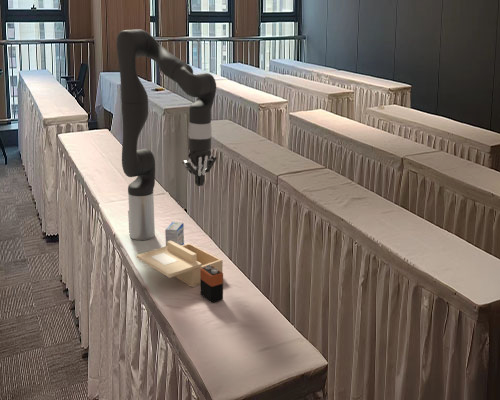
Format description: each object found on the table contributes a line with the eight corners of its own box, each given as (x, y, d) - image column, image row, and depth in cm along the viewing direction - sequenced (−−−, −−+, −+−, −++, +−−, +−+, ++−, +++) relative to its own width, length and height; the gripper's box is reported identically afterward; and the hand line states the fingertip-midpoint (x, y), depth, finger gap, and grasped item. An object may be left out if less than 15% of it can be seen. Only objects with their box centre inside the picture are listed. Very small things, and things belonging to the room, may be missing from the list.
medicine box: (177, 253, 223) (177, 230, 221) (165, 251, 224) (165, 229, 221) (184, 244, 231) (183, 222, 228) (172, 243, 232) (172, 221, 229)
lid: (136, 257, 204) (136, 247, 202) (168, 248, 211) (168, 238, 210) (169, 277, 191) (168, 266, 189) (201, 266, 198) (201, 255, 197)
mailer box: (160, 268, 211) (160, 251, 209) (189, 258, 219) (189, 243, 217) (192, 287, 199) (192, 270, 197) (222, 276, 206) (222, 260, 204)
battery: (211, 303, 189) (211, 273, 185) (199, 294, 194) (199, 265, 191) (223, 300, 191) (223, 270, 188) (212, 291, 196) (212, 262, 193)
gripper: (209, 130, 213) (208, 178, 219) (176, 135, 205) (176, 186, 211) (222, 135, 208) (221, 184, 214) (190, 140, 200) (190, 192, 206)
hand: (199, 185), depth 213 cm, fingers closed
